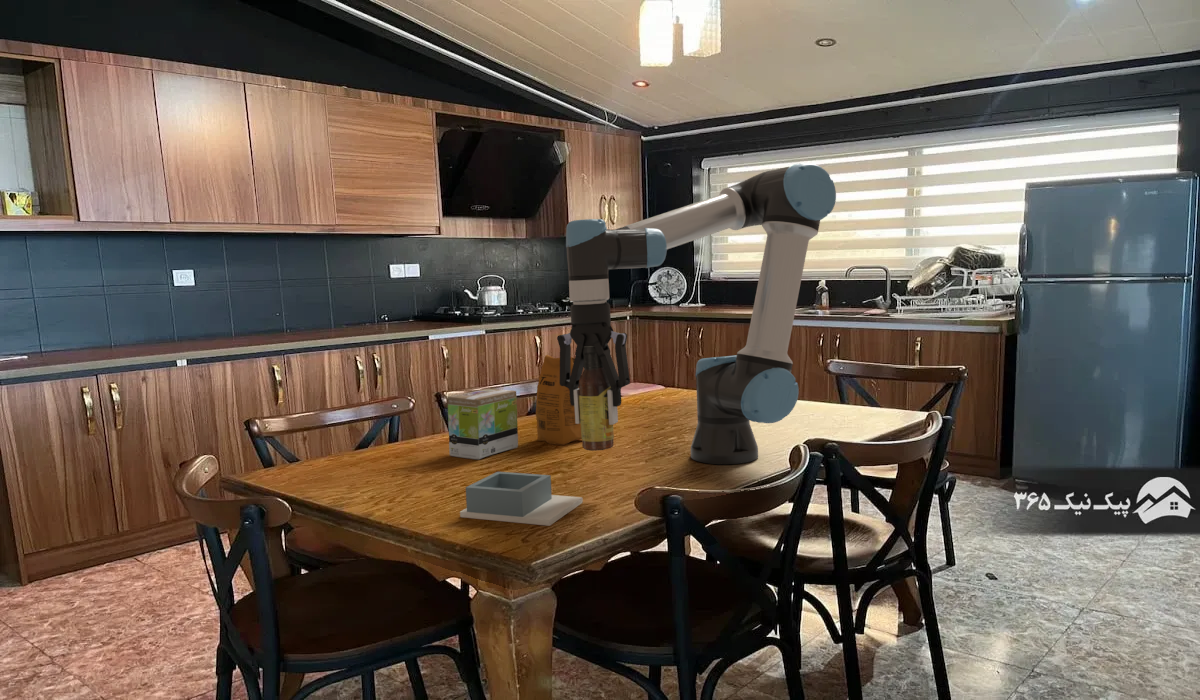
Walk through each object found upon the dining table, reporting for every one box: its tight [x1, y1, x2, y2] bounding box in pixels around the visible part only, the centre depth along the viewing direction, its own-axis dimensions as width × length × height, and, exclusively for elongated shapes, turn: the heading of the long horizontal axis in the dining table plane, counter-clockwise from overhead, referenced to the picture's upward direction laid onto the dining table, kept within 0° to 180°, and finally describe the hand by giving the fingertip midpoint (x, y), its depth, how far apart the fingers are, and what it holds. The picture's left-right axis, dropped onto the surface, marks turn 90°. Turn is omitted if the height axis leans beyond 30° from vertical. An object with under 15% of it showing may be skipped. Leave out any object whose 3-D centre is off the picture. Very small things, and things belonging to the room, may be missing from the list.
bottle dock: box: [459, 471, 584, 527], centre depth 146 cm, size 18×14×6 cm
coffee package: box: [535, 354, 582, 445], centre depth 204 cm, size 10×12×22 cm
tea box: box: [447, 388, 519, 460], centre depth 195 cm, size 15×10×15 cm, turn 148°
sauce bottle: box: [579, 346, 615, 452], centre depth 152 cm, size 7×6×20 cm
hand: (596, 422), depth 152 cm, fingers closed on sauce bottle, 6 cm apart
